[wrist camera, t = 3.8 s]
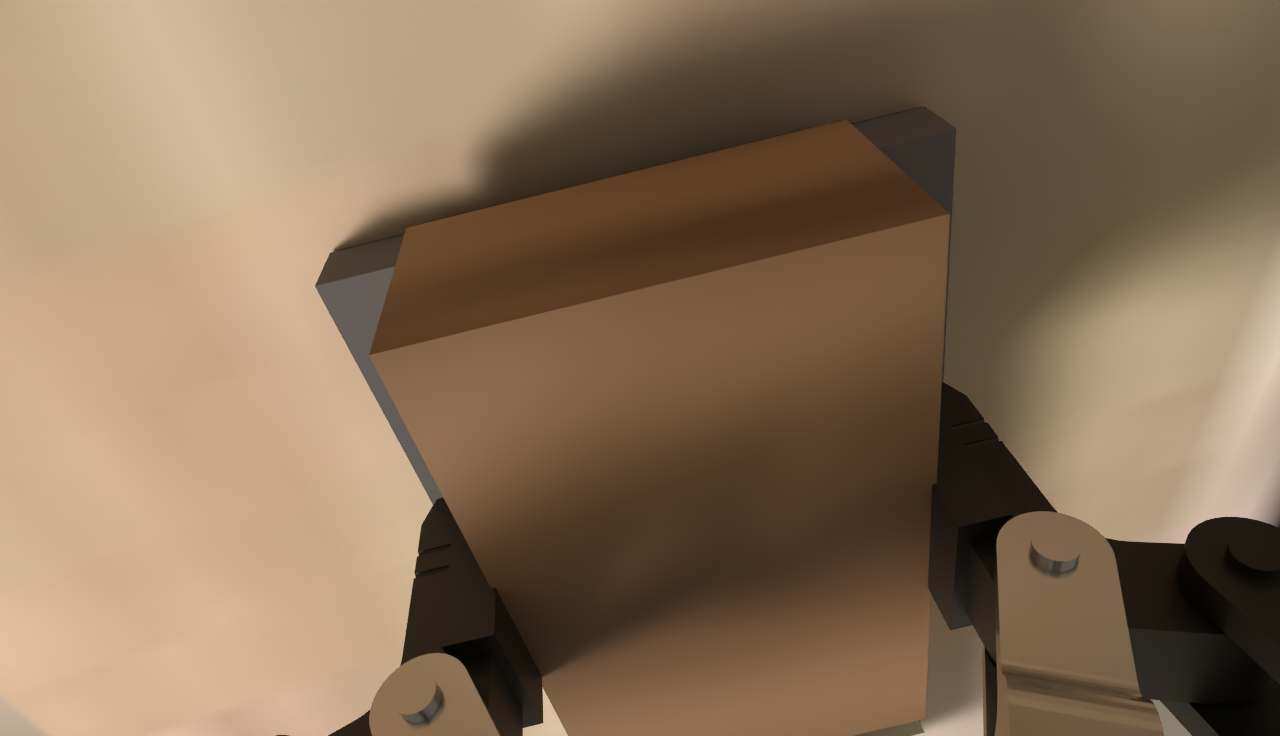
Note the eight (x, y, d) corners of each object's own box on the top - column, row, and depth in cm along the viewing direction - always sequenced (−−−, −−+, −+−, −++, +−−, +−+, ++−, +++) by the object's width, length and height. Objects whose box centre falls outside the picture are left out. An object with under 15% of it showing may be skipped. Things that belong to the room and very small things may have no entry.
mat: (329, 253, 11) (315, 285, 10) (924, 106, 11) (956, 128, 10) (512, 610, 16) (512, 650, 16) (914, 515, 16) (934, 551, 16)
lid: (406, 227, 10) (369, 355, 8) (846, 119, 10) (950, 213, 7) (587, 647, 16) (598, 794, 14) (864, 582, 16) (925, 718, 13)
